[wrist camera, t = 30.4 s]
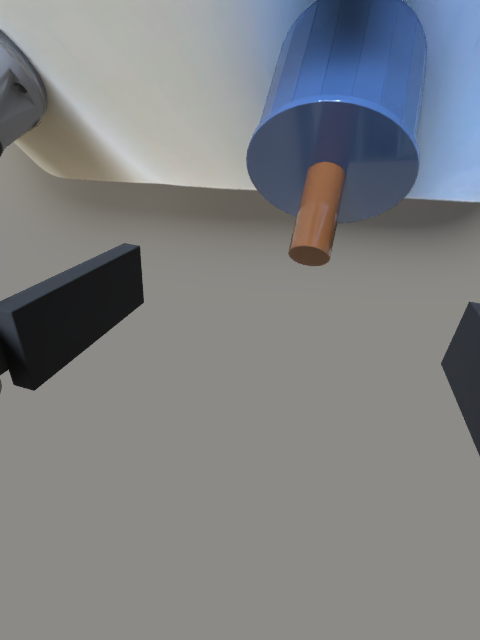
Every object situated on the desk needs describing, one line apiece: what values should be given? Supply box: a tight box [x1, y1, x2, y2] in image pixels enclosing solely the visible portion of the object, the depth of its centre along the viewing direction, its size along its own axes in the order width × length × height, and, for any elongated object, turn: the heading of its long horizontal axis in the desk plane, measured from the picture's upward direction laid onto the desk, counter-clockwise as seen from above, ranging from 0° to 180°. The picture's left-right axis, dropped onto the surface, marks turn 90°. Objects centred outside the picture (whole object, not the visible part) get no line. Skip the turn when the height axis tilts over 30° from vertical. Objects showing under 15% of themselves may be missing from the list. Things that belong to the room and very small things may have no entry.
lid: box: [246, 94, 420, 266], centre depth 27 cm, size 14×14×9 cm
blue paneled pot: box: [260, 0, 427, 140], centre depth 29 cm, size 13×13×10 cm
